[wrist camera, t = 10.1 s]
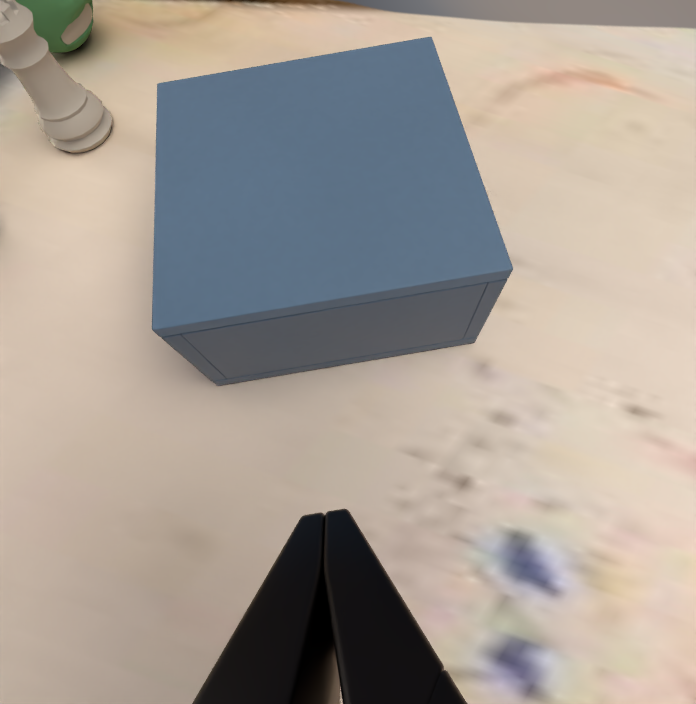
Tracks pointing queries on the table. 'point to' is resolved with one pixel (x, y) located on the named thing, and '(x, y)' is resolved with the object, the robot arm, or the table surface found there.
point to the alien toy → (61, 22)
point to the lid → (315, 189)
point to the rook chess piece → (50, 85)
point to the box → (339, 334)
